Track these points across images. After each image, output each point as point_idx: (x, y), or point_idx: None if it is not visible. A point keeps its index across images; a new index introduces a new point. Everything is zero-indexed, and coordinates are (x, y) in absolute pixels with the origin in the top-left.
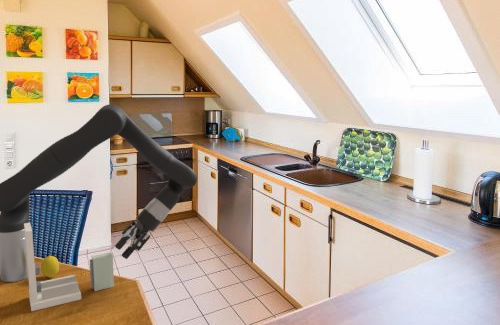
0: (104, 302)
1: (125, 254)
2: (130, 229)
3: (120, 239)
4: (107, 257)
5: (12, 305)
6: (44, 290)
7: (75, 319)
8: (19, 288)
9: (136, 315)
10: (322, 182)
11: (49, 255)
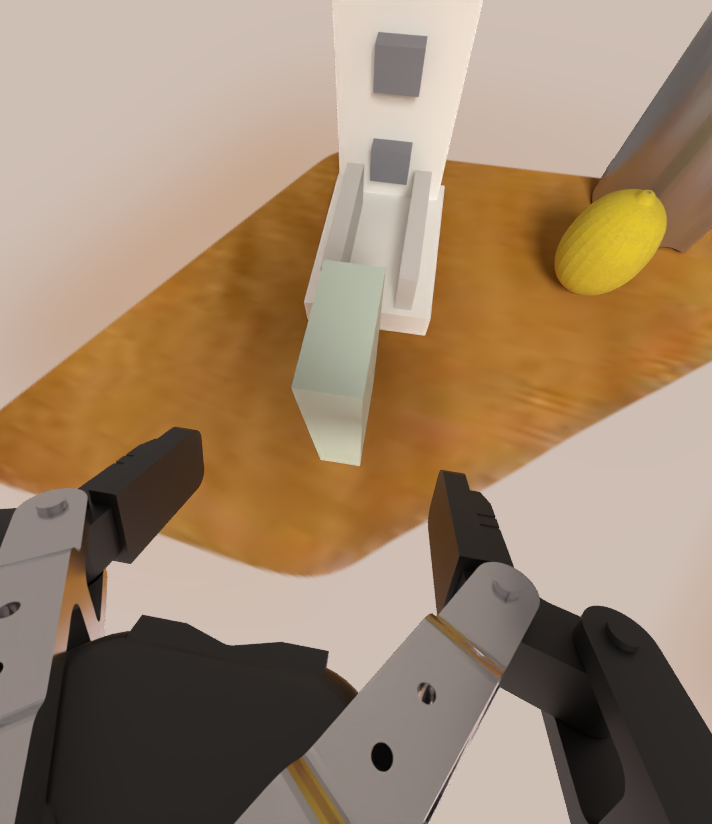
0: (217, 374)
1: (139, 446)
2: (394, 770)
3: (472, 531)
4: (302, 354)
5: None
6: (346, 172)
7: (189, 268)
8: (529, 200)
9: (20, 431)
10: None
11: (654, 194)
